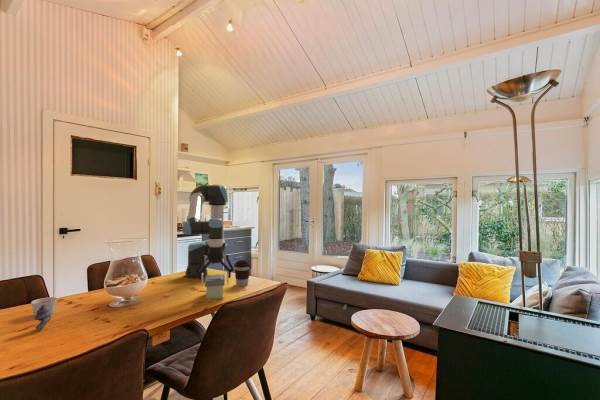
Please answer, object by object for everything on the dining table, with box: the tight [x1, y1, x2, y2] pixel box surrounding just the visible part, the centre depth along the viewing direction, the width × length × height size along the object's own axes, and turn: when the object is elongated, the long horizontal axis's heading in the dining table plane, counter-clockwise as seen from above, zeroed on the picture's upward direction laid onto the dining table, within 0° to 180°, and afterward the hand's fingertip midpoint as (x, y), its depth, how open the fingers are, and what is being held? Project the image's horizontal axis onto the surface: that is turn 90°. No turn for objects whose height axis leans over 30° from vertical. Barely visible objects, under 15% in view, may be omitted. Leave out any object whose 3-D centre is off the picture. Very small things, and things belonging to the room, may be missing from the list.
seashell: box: [34, 304, 53, 331], centre depth 119 cm, size 5×5×10 cm
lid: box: [204, 274, 225, 288], centre depth 164 cm, size 13×10×4 cm
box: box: [206, 286, 224, 301], centre depth 164 cm, size 12×8×7 cm
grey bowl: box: [31, 296, 58, 317], centre depth 135 cm, size 9×9×6 cm
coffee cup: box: [233, 259, 251, 287], centre depth 186 cm, size 10×10×15 cm
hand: (215, 284), depth 164 cm, fingers open, 13 cm apart
